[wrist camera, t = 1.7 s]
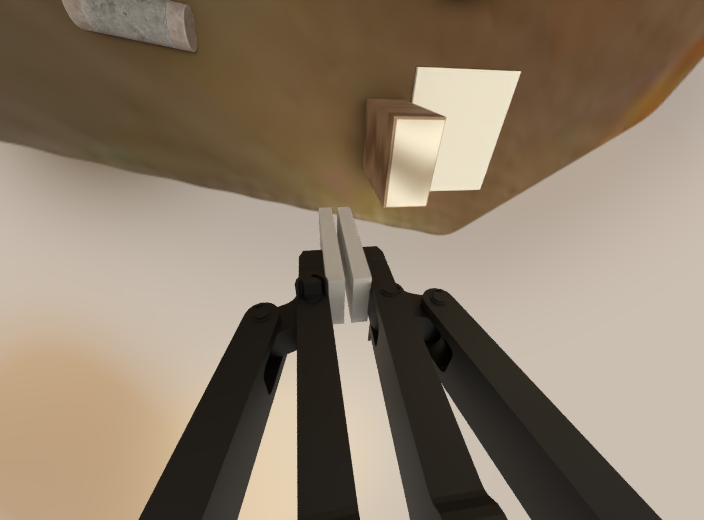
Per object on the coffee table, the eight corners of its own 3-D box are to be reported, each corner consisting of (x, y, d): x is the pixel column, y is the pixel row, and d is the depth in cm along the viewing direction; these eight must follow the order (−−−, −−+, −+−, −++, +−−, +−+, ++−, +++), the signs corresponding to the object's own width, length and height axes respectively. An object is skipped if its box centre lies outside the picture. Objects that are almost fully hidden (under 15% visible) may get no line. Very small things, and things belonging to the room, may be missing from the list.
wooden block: (366, 98, 34) (395, 116, 23) (404, 99, 34) (447, 117, 24) (362, 168, 39) (384, 208, 29) (394, 168, 40) (427, 207, 29)
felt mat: (416, 66, 32) (417, 67, 32) (518, 71, 34) (521, 71, 34) (397, 190, 42) (398, 191, 42) (477, 188, 44) (479, 189, 44)
